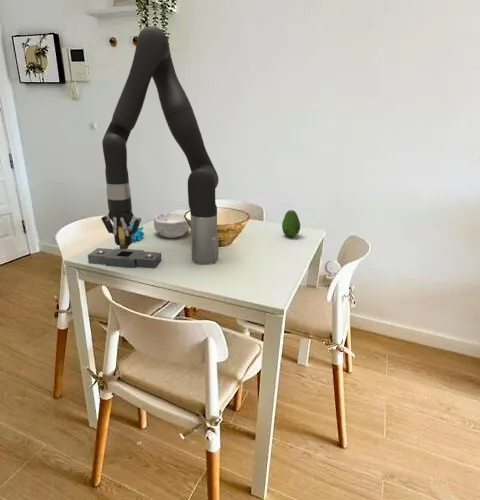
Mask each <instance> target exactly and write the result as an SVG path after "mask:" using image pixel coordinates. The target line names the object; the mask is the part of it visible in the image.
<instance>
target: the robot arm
mask: <svg viewBox="0 0 480 500" xmlns="http://www.w3.org/2000/svg"><path fill="white" fill-rule="evenodd" d="M170 48H171V47H170V42H169V40H168V37H167V35H166V33H165V32H164V31H163V30H162V29H161V28H160V27H157V26H155V25H149V26H145V27H143V29H142V30H141V31H140V32H139V33H138V36H137V40H136V46H135V50H134V55H133V59H132V62H131V63H132V64H131V67H130V70H129V73H128V75H127V79H126V81H125V84H124V87H123V88H122V91H121V93H120V96H119V98H118V100H117V103H116V106H115V109H114V111H113V113H112V114H113V115H112V118H111V121H110V123H109V124H108V127H107V129H106V130H105V134H104V135H103V138H102V142H101V145H102V152H103V157H104V158H103V159H104V164H105V183H106V198H107V207H108V208H107V209H108V211H109V212H108V213H107V214H106V215H104V216H102V217H101V218H100V219H101V221H102V223H103V224H104V227H105V228H106V230H107V232H108V233H109V234H113V235H114V236H113V237H114V243H115V244H116V246H119V237H118V227H117V226H123V229H124V230H125V234H126V236H125V237H126V246H128V247H130V246H131V245H132V243H133V240H132V239H133V236H132V235H133V234H135V233H136V232H137V230H138V228H140V227H139V226H140V224H141V222H142V218H141V217H136V216H135V215H134V214H133V206H132V194H131V192H132V191H131V186H130V181H129V180H130V179H129V170H128V154H127V153H128V149H127V144H128V143H127V142H128V140H129V137H130V135H131V133H132V131H133V129H135V126H136V124H137V122H138V119H139V117H140V115H141V112H142V109H143V108H144V107H143V105H144V103H145V99H146V95H147V92H148V88H149V86H150V82H151V79H153V83H154V85H155V87H156V91H157V95H158V99H159V103H160V107H161V110H162V113H163V116H164V119H165V121H166V124H167V126H168V129H169V131H170V133H171V135H172V137H173V139H174V140H175V141H176V143H177V145H178V146H179V148H180V149H181V150H182V152H183V154H184V155H185V157H186V160H187V163H188V166H189V169H190V174H189V176H188V178H187V197H188V198H187V199H188V200H187V202H188V208H189V212H190V215H189V216H190V240H191V241H190V242H191V248H190V249H191V262H192V263H194V264H198V265H211V264H212V265H213V264H214V265H215V264H216V262H217V261H218V259H219V233H218V206H217V203H216V188H217V187H218V184H219V175H218V172H217V170H216V168H215V166H214V164H213V162H212V160H211V158H210V156H209V154H208V151H207V149H206V147H205V142H204V139H203V136H202V132H201V129H200V126H199V123H198V120H197V118H196V115H195V112H194V109H193V107H192V104H191V102H190V100H189V97H188V95H187V93H186V92H185V90H184V88H183V87H182V84H181V83H180V81H179V78H178V76H177V73H176V70H175V66H174V62H173V59H172V55H171V50H170ZM131 221H133V223H134V224H133V227H132V230H131V223H130V222H131Z"/></svg>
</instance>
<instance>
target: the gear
mask: <svg viewBox="0 0 480 500" xmlns="http://www.w3.org/2000/svg"><path fill="white" fill-rule="evenodd" d="M130 224H131V230H132V227H133V224H134V223H133V220H131V222H130ZM144 229H145V228H144V226H141V227H138V230H137V232H136V233H135V234H133V235H132V242H133V241H134V242H135V241H136V240H137V241H138V242H140V241H141V240H143V239H144V235H145V232H144V231H143V230H144Z"/></svg>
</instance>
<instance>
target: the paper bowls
mask: <svg viewBox="0 0 480 500" xmlns="http://www.w3.org/2000/svg"><path fill="white" fill-rule="evenodd" d="M184 215H185V213H180V212H163V213H160V214H157V215H155V216H154V217H153V226H154V227H153V228H154V230H155V231H156V232H158V233H159V234H160V236H162V237H164V238H168V239H169V238H171V239H175V238H180V237H182V236H184V235H185V233H186V232H187V231H188V230H190V229H191V226H190V227H189V225H188V223H187V221H186V220H185V218H184Z"/></svg>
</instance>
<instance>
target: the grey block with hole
mask: <svg viewBox="0 0 480 500" xmlns="http://www.w3.org/2000/svg"><path fill="white" fill-rule="evenodd" d="M87 259H88V261H87V262H88V263H89V264H97V265H105V266H106V267H116V268H117V267H118V268H131V269H135V268H144V269H156V268H157V267H158V265H159V264H160V263H161V262H162V252H156V251H155V252H154V251H145V250H143V249H130V248H128V249H120V248H102V247H101V248H100V247H97V248H96V249H94V250H92V251H91V252H90V253H88V254H87Z"/></svg>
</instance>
